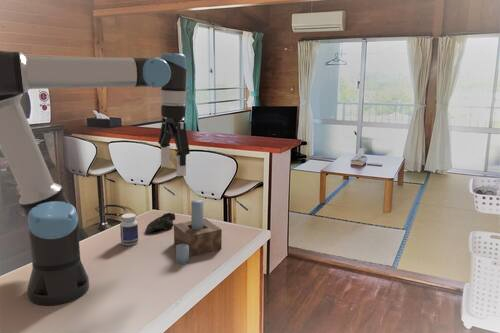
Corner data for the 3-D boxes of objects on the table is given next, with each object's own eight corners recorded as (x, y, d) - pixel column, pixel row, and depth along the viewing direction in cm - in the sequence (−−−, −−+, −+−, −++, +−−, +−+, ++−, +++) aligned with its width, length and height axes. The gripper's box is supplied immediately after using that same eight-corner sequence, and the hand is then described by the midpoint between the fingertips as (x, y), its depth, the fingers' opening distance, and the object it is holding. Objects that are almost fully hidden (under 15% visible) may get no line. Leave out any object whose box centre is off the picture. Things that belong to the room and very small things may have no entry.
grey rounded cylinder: (178, 265, 132) (178, 250, 130) (174, 259, 135) (174, 244, 134) (190, 262, 133) (190, 247, 132) (186, 257, 137) (186, 242, 136)
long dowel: (194, 249, 143) (194, 204, 139) (189, 245, 146) (189, 200, 142) (205, 247, 145) (205, 202, 141) (200, 242, 148) (200, 198, 144)
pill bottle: (141, 242, 148) (140, 214, 145) (129, 247, 143) (127, 219, 141) (130, 238, 151) (129, 211, 148) (117, 243, 146) (116, 216, 144)
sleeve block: (188, 256, 137) (188, 236, 136) (174, 243, 147) (173, 224, 146) (221, 248, 144) (221, 229, 142) (205, 236, 154) (205, 218, 152)
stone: (140, 231, 157) (139, 218, 156) (168, 221, 167) (167, 209, 166) (152, 236, 153) (151, 222, 152) (179, 226, 163) (179, 213, 162)
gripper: (201, 108, 124) (200, 178, 129) (170, 101, 145) (169, 162, 150) (177, 108, 120) (176, 181, 125) (148, 101, 141) (148, 163, 146)
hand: (172, 170), depth 137 cm, fingers open, 13 cm apart
